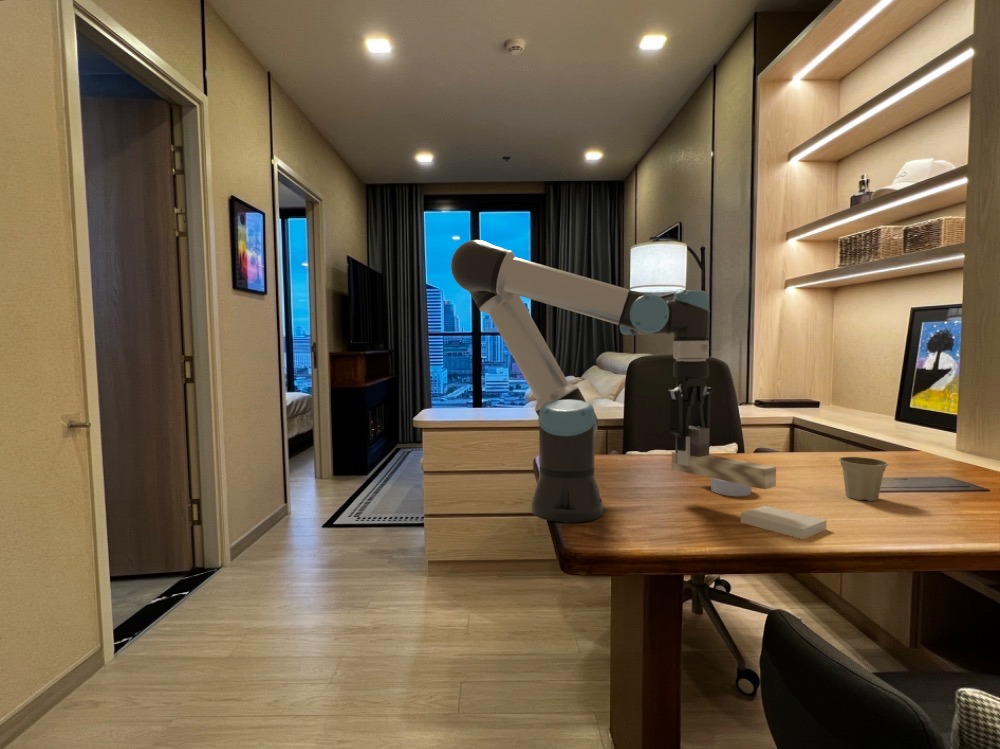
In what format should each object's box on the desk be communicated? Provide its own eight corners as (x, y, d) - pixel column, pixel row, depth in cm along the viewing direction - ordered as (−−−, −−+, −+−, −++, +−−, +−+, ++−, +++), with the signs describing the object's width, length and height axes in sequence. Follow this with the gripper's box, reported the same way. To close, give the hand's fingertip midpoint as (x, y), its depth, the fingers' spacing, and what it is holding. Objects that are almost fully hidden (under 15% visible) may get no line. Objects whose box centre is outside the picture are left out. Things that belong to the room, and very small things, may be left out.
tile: (740, 524, 107) (802, 541, 98) (740, 513, 107) (802, 529, 97) (765, 516, 113) (826, 532, 103) (765, 505, 112) (826, 520, 103)
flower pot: (890, 497, 124) (891, 460, 124) (883, 506, 117) (884, 467, 117) (842, 490, 130) (843, 454, 130) (834, 498, 124) (834, 461, 123)
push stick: (775, 486, 108) (776, 436, 108) (765, 489, 106) (765, 439, 105) (682, 467, 126) (682, 424, 126) (671, 469, 124) (671, 426, 123)
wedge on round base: (694, 484, 138) (726, 497, 125) (694, 457, 137) (726, 469, 125) (724, 481, 140) (759, 494, 127) (725, 456, 139) (760, 466, 127)
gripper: (681, 361, 113) (680, 471, 114) (728, 359, 123) (727, 461, 124) (652, 360, 119) (652, 465, 120) (699, 359, 129) (698, 456, 130)
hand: (690, 463), depth 122 cm, fingers closed on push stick, 4 cm apart
